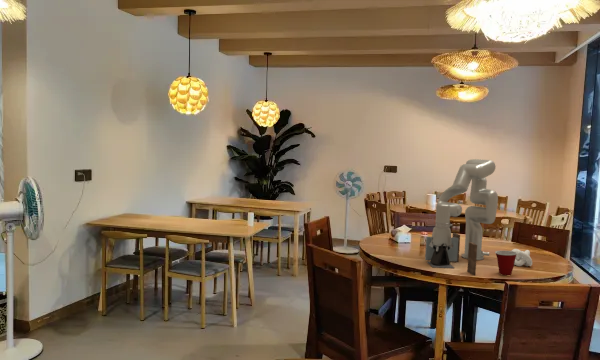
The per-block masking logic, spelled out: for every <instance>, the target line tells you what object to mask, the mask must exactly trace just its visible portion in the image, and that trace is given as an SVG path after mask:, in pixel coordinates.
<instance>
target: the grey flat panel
mask: <svg viewBox="0 0 600 360" xmlns="http://www.w3.org/2000/svg"><path fill="white" fill-rule="evenodd" d="M431 240H432V236H426V238H425V256H424V260H425V261H431V258H432V255H433V253H434V248H432V247H431V246H429V244H430V243H431ZM451 242H452V244H453V247H452V248H450V249H449V250H448V251H447V253H448V257H449V262H454V261H457V253H458V238H452V237H451ZM433 246H435V245H433ZM447 247H448V246H447Z"/></svg>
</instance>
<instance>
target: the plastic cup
mask: <svg viewBox="0 0 600 360" xmlns="http://www.w3.org/2000/svg"><path fill="white" fill-rule="evenodd" d="M494 253H495V256H496V259H497V267H498V273H500V274H499V275H501V274H502V276H507V275H510V276H511V275H512V274H513V269H514V266H515V265H514V262H515V259H516V255H517V252H514V251H512V250H496V251H495V252H494Z"/></svg>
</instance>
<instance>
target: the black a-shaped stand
mask: <svg viewBox="0 0 600 360" xmlns="http://www.w3.org/2000/svg"><path fill="white" fill-rule="evenodd" d="M443 245H444V244H442V245H441V246H439V248H438V251H439V253H437V254H436V253H435V250H434V253H433V255H432V258H431V260H429V262H430V263H432V264H435V265H451V263H450V262H451V261H449V257H448V253H447V245H446V246H443ZM444 252H445V255H446V258H445V259H444V258H443V255H444Z"/></svg>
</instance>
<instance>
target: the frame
mask: <svg viewBox="0 0 600 360" xmlns="http://www.w3.org/2000/svg"><path fill="white" fill-rule="evenodd" d="M451 238H458V253H457V261H453V263H459V261H460V245H461V244H460V243H461V234H459V233H457V232H452V235H451ZM476 258H477V244H475V243H473V242H469V250H468V259H467V270H466V272H467V273H469V274H470V275H471V276H476V272H477V270H476V269H477V260H476Z"/></svg>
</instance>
